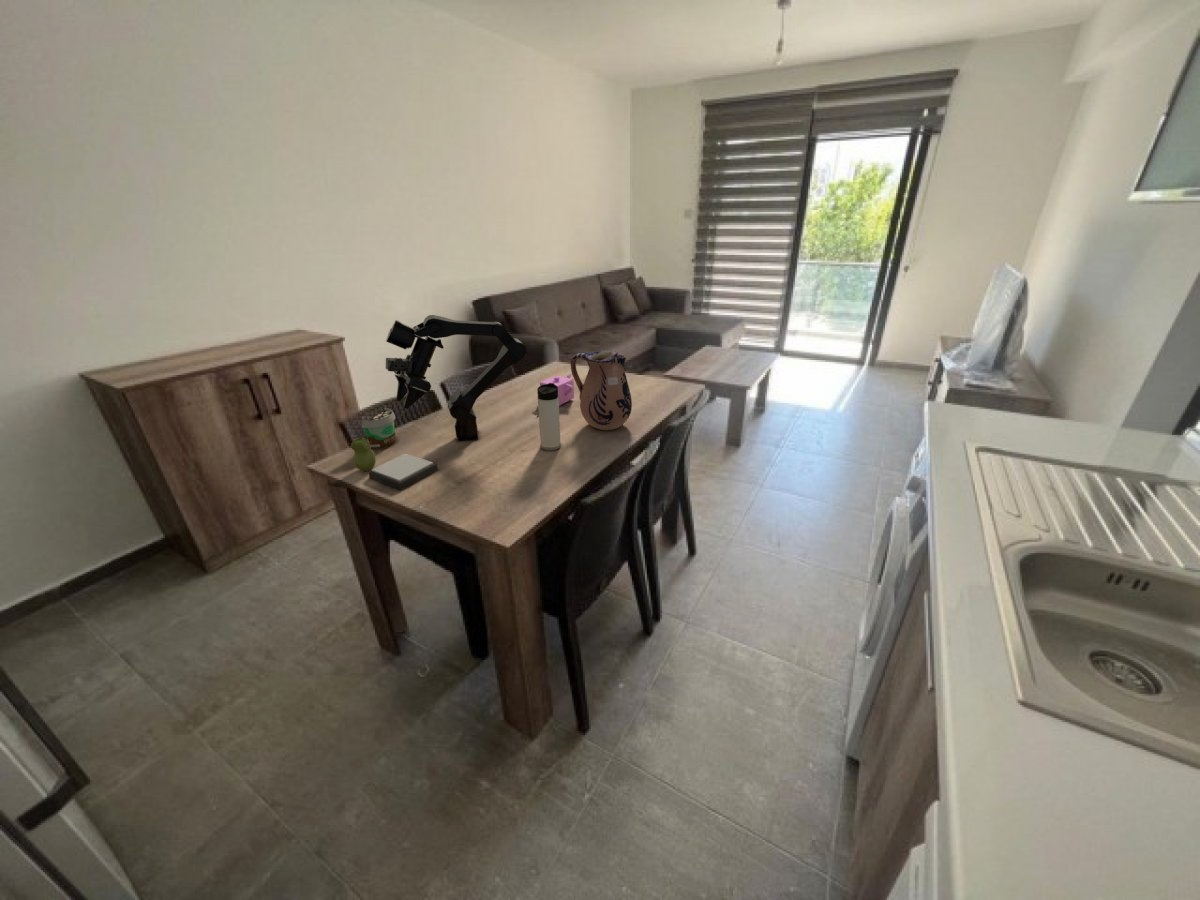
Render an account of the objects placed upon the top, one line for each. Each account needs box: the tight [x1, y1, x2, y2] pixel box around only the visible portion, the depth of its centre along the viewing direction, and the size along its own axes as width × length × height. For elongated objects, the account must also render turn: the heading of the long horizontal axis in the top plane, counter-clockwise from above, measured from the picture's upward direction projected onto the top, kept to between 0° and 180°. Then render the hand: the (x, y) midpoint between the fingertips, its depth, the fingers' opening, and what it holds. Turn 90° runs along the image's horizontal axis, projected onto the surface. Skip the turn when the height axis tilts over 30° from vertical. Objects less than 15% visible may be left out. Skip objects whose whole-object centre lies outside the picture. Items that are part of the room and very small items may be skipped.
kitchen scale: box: [367, 453, 439, 491], centre depth 136 cm, size 13×13×3 cm
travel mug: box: [536, 383, 562, 452], centre depth 147 cm, size 6×7×20 cm
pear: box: [350, 436, 377, 472], centre depth 136 cm, size 6×5×10 cm
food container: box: [361, 407, 397, 450], centre depth 152 cm, size 12×6×10 cm, turn 168°
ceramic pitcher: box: [570, 350, 633, 431], centre depth 161 cm, size 18×21×25 cm
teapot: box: [539, 373, 575, 407], centre depth 185 cm, size 18×14×10 cm
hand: (401, 404), depth 143 cm, fingers open, 9 cm apart
